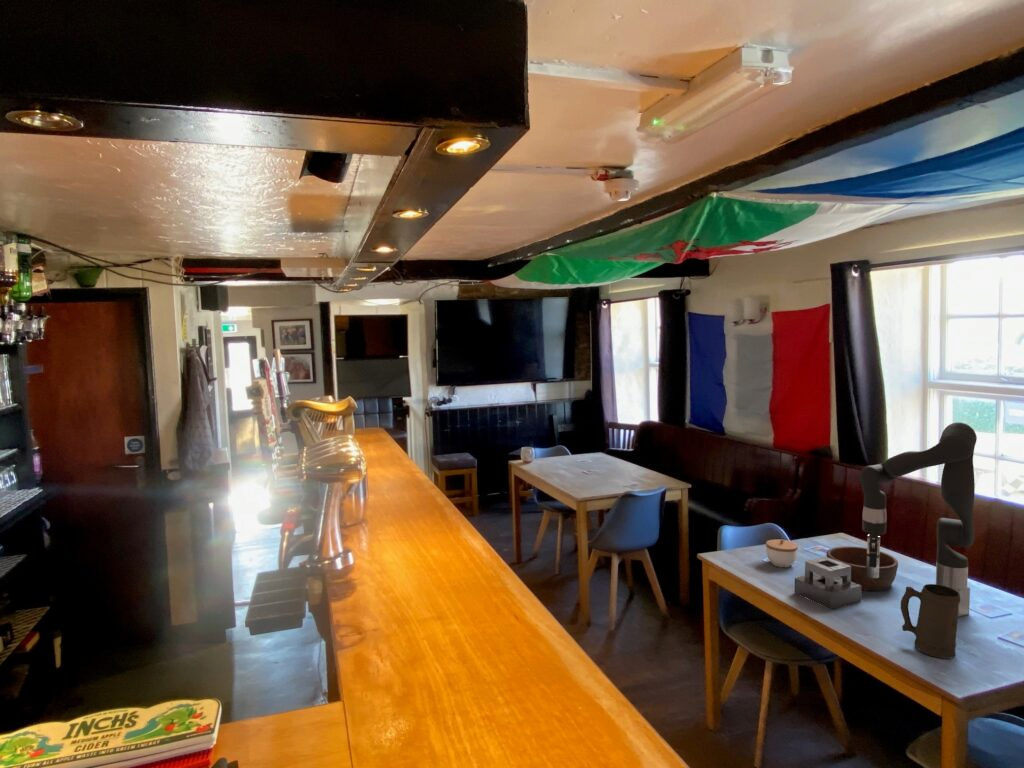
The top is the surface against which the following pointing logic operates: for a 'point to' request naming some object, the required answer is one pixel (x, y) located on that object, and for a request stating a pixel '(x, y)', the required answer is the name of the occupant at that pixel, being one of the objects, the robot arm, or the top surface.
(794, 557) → the lidded bowl
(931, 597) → the beer stein
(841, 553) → the wooden bowl
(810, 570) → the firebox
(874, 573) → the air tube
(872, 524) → the robot arm
